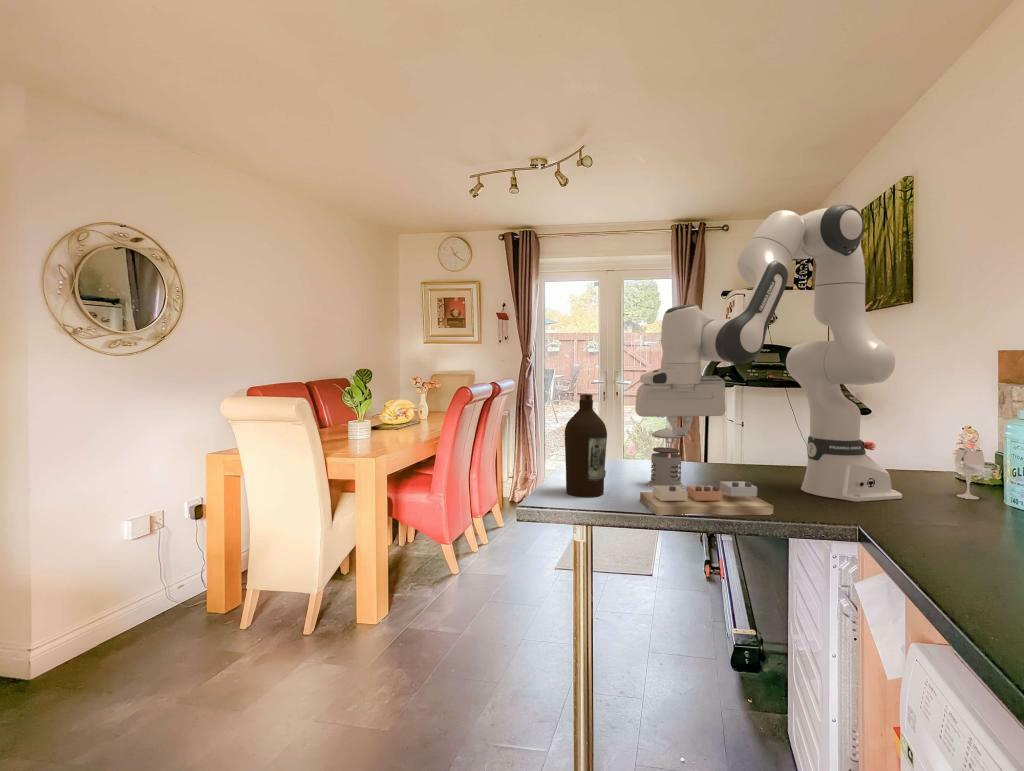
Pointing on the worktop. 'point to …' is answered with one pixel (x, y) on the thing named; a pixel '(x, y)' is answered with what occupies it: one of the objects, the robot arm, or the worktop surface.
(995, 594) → the worktop surface
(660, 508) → the button board
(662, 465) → the french press
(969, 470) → the wineglass
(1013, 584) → the worktop surface
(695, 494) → the tile three
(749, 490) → the tile two
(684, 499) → the tile one
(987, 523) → the worktop surface
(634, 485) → the worktop surface
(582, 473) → the olive oil
